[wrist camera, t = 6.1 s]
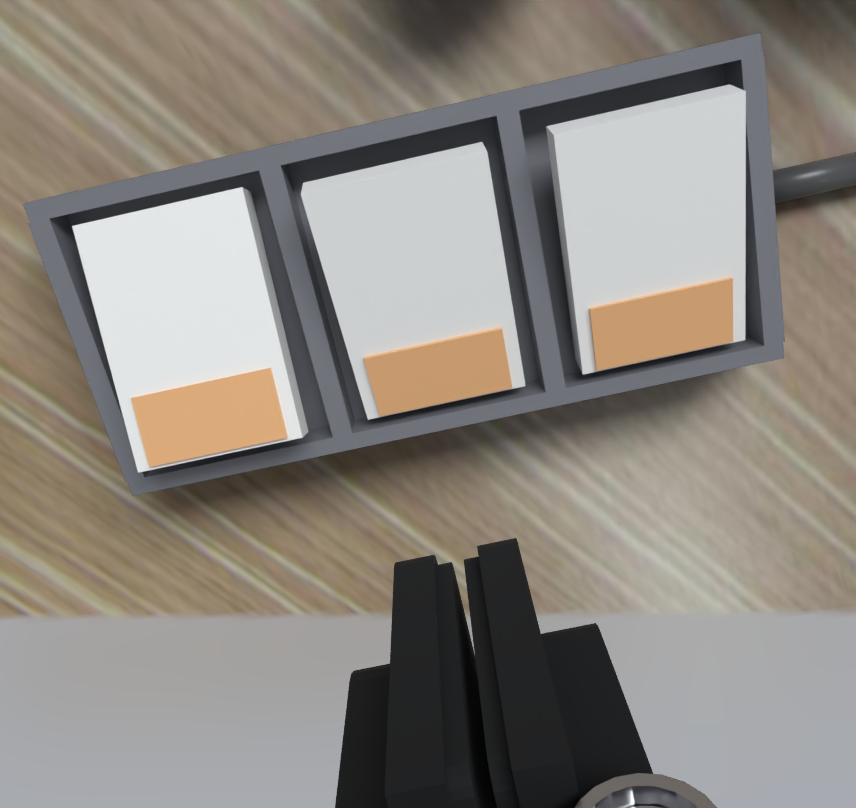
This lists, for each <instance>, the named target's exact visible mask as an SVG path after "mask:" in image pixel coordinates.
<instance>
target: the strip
mask: <svg viewBox="0 0 856 808" xmlns="http://www.w3.org/2000/svg"><path fill="white" fill-rule="evenodd" d="M729 84H730V85H733V86H735V87H737V88H740V89H742V90H744V91H746V274H745V340H743V341H739V342H734V343H729V344H725V345H720V346H715V347H710V348H706V349H701V350H696V351H692V352H687V353H682V354H678V355H673V356H668V357H664V358H659V359H654V360H649V361H645V362H640V363H635V364H631V365H626V366H621V367H617V368H612V369H607V370H603V371H598V372H593V373H589V374H584V375H583V374H582V372H581V370H580V368H579V366H578V364H577V362H576V360H575V354H574V346H573V338H572V330H571V322H570V314H569V306H568V298H567V290H566V282H565V274H564V266H563V258H562V250H561V242H560V234H559V226H558V218H557V210H556V202H555V194H554V187H553V179H552V171H551V163H550V155H549V147H548V139H547V131H546V126H550V125H554V124H559V123H563V122H568V121H572V120H576V119H581V118H585V117H589V116H594V115H598V114H603V113H607V112H611V111H616V110H620V109H624V108H629V107H633V106H637V105H642V104H646V103H651V102H655V101H659V100H664V99H668V98H672V97H677V96H681V95H686V94H690V93H694V92H699V91H703V90H707V89H712V88H716V87H720V86H725V85H729ZM479 142H482V143H483V144H484V146H485V148H486V150H487V153H488V159H489V165H490V171H491V178H492V184H493V190H494V196H495V202H496V208H497V214H498V220H499V226H500V233H501V239H502V245H503V251H504V257H505V263H506V269H507V275H508V281H509V288H510V294H511V300H512V306H513V312H514V318H515V324H516V330H517V336H518V343H519V349H520V355H521V361H522V367H523V373H524V379H525V385H526V386H524V387H519V388H515V389H510V390H505V391H500V392H496V393H491V394H486V395H482V396H477V397H472V398H468V399H463V400H458V401H454V402H449V403H444V404H440V405H435V406H430V407H425V408H421V409H416V410H411V411H407V412H402V413H397V414H393V415H388V416H383V417H379V418H374V419H369V420H368V419H367V415H366V412H365V409H364V405H363V402H362V399H361V395H360V392H359V389H358V385H357V382H356V378H355V375H354V372H353V368H352V365H351V362H350V358H349V355H348V352H347V348H346V345H345V342H344V338H343V335H342V331H341V328H340V325H339V321H338V318H337V315H336V311H335V308H334V305H333V301H332V298H331V295H330V291H329V288H328V285H327V281H326V278H325V274H324V271H323V268H322V264H321V261H320V258H319V254H318V251H317V248H316V244H315V241H314V238H313V234H312V231H311V227H310V224H309V221H308V217H307V214H306V211H305V207H304V204H303V201H302V197H301V191H302V186H303V183H304V182H309V181H313V180H318V179H322V178H326V177H331V176H335V175H339V174H344V173H348V172H353V171H357V170H361V169H366V168H370V167H374V166H379V165H383V164H387V163H392V162H396V161H401V160H405V159H409V158H414V157H418V156H422V155H427V154H431V153H436V152H440V151H444V150H449V149H453V148H457V147H462V146H466V145H470V144H475V143H479ZM852 186H856V152H855V153H850V154H846V155H841V156H837V157H832V158H828V159H823V160H819V161H814V162H810V163H805V164H801V165H796V166H792V167H787V168H783V169H778V170H774V171H773V169H772V155H771V141H770V127H769V113H768V99H767V85H766V71H765V57H764V54H762V42H761V33H757V34H752V35H748V36H744V37H739V38H735V39H731V40H726V41H722V42H718V43H713V44H709V45H705V46H700V47H696V48H692V49H688V50H683V51H679V52H675V53H670V54H666V55H662V56H657V57H653V58H649V59H644V60H640V61H636V62H631V63H627V64H623V65H618V66H614V67H610V68H605V69H601V70H597V71H593V72H588V73H584V74H580V75H575V76H571V77H567V78H562V79H558V80H554V81H549V82H545V83H541V84H536V85H532V86H528V87H523V88H519V89H515V90H510V91H506V92H502V93H498V94H493V95H489V96H485V97H480V98H476V99H472V100H467V101H463V102H459V103H454V104H450V105H446V106H441V107H437V108H433V109H428V110H424V111H420V112H415V113H411V114H407V115H403V116H398V117H394V118H390V119H385V120H381V121H377V122H372V123H368V124H364V125H359V126H355V127H351V128H346V129H342V130H338V131H333V132H329V133H325V134H321V135H316V136H312V137H308V138H303V139H299V140H295V141H290V142H286V143H282V144H277V145H273V146H269V147H264V148H260V149H256V150H251V151H247V152H243V153H238V154H234V155H230V156H226V157H221V158H217V159H213V160H208V161H204V162H200V163H195V164H191V165H187V166H182V167H178V168H174V169H169V170H165V171H161V172H156V173H152V174H148V175H143V176H139V177H135V178H131V179H126V180H122V181H118V182H113V183H109V184H105V185H100V186H96V187H92V188H87V189H83V190H79V191H74V192H70V193H66V194H61V195H57V196H53V197H48V198H44V199H40V200H36V201H31V202H27V203H25V204H24V205H23V206H24V208H25V211H26V214H27V216H28V219H29V222H30V223H28V224H29V227H30V229H31V232H32V235H33V237H34V240H35V243H36V245H37V248H38V251H39V253H40V256H41V259H42V261H43V264H44V267H45V269H46V272H47V275H48V277H49V280H50V282H51V285H52V288H53V290H54V293H55V296H56V298H57V301H58V304H59V306H60V309H61V312H62V314H63V317H64V320H65V322H66V325H67V328H68V330H69V333H70V335H71V338H72V341H73V343H74V346H75V349H76V351H77V354H78V357H79V359H80V362H81V365H82V367H83V370H84V373H85V375H86V378H87V381H88V383H89V386H90V388H91V391H92V394H93V396H94V399H95V402H96V404H97V407H98V410H99V412H100V415H101V418H102V420H103V423H104V426H105V428H106V431H107V434H108V436H109V439H110V442H111V444H112V447H113V449H114V452H115V455H116V457H117V460H118V463H119V465H120V468H121V471H122V473H123V476H124V479H125V481H126V482H128V485H129V487H130V490H131V493H132V495H133V496H135V495H139V494H144V493H149V492H154V491H158V490H163V489H168V488H172V487H177V486H182V485H187V484H191V483H196V482H201V481H206V480H210V479H215V478H220V477H224V476H229V475H234V474H239V473H243V472H248V471H253V470H258V469H262V468H267V467H272V466H276V465H281V464H286V463H291V462H295V461H300V460H305V459H309V458H314V457H319V456H324V455H328V454H333V453H338V452H343V451H347V450H352V449H357V448H361V447H366V446H371V445H376V444H380V443H385V442H390V441H395V440H399V439H404V438H409V437H413V436H418V435H423V434H428V433H432V432H437V431H442V430H446V429H451V428H456V427H461V426H465V425H470V424H475V423H480V422H484V421H489V420H494V419H498V418H503V417H508V416H513V415H517V414H522V413H527V412H532V411H536V410H541V409H546V408H550V407H555V406H560V405H565V404H569V403H574V402H579V401H584V400H588V399H593V398H598V397H602V396H607V395H612V394H617V393H621V392H626V391H631V390H635V389H640V388H645V387H650V386H654V385H659V384H664V383H669V382H673V381H678V380H683V379H687V378H692V377H697V376H702V375H706V374H711V373H716V372H721V371H725V370H730V369H735V368H739V367H744V366H749V365H754V364H758V363H763V362H768V361H773V360H777V359H782V358H784V348H783V342H785V338H784V324H783V310H782V296H781V282H780V268H779V254H778V240H777V226H776V211H775V203H779V202H784V201H788V200H793V199H797V198H802V197H806V196H811V195H815V194H820V193H824V192H829V191H833V190H838V189H842V188H847V187H852ZM240 187H243V188H245V189H247V190H248V191H250V192H251V193H252V197H253V202H254V206H255V210H256V214H257V218H258V223H259V227H260V231H261V235H262V239H263V243H264V248H265V252H266V256H267V260H268V264H269V268H270V273H271V277H272V281H273V285H274V289H275V294H276V298H277V302H278V306H279V310H280V314H281V319H282V323H283V327H284V331H285V335H286V340H287V344H288V348H289V352H290V356H291V360H292V365H293V369H294V373H295V377H296V381H297V385H298V390H299V394H300V398H301V402H302V406H303V411H304V415H305V419H306V423H307V427H308V431H309V432H308V433H307V434H306V435H305V436H304V437H303V438H298V439H294V440H289V441H284V442H280V443H275V444H270V445H266V446H261V447H256V448H251V449H247V450H242V451H237V452H233V453H228V454H223V455H219V456H214V457H209V458H204V459H200V460H195V461H190V462H186V463H181V464H176V465H172V466H167V467H162V468H158V469H153V470H148V471H143V472H139V473H138V471H137V467H136V463H135V459H134V456H133V452H132V448H131V444H130V441H129V437H128V433H127V429H126V426H125V422H124V418H123V415H122V411H121V407H120V403H119V400H118V396H117V392H116V388H115V385H114V381H113V377H112V373H111V370H110V366H109V362H108V359H107V355H106V351H105V347H104V344H103V340H102V336H101V332H100V329H99V325H98V321H97V317H96V314H95V310H94V306H93V303H92V299H91V295H90V291H89V288H88V284H87V280H86V276H85V273H84V269H83V265H82V261H81V258H80V254H79V250H78V247H77V243H76V239H75V235H74V232H73V228H72V226H75V225H79V224H83V223H88V222H92V221H96V220H101V219H105V218H109V217H114V216H118V215H122V214H127V213H131V212H136V211H140V210H144V209H149V208H153V207H157V206H162V205H166V204H170V203H175V202H179V201H184V200H188V199H192V198H197V197H201V196H205V195H210V194H214V193H218V192H223V191H227V190H231V189H236V188H240Z"/></svg>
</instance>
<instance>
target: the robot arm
mask: <svg viewBox="0 0 856 808" xmlns="http://www.w3.org/2000/svg"><path fill="white" fill-rule="evenodd" d="M477 548H478V555H479V557H475V558H470V559H465V560H464V566H465V574H466V583H467V591H468V600H469V608H470V617H471V625H472V633H473V642H474V650H475V655H474V651H473V647H472V642H471V639H470V634H469V630H468V626H467V621H466V617H465V613H464V609H463V605H462V601H461V596H460V592H459V588H458V584H457V580H456V575H455V571H454V568H453V564H452V562H450V563H445V564H440V565H438V563H437V560H436V557H435V555H431V556H426V557H421V558H416V559H411V560H406V561H401V562H396V563H395V565H394V584H393V608H392V631H391V655H390V664H386V665H381V666H376V667H371V668H366V669H361V670H356V671H353V673H352V674H351V678H350V683H349V691H348V700H347V709H346V718H345V726H344V735H343V745H342V753H341V761H340V771H339V780H338V788H337V796H336V805H335V808H717V807H716V806H715V805H714V804H713V803H712V802H711V801H710V800H709V798H708V797H707V796H706V795H705V794H703V793H702V792H700V791H698V790H697V789H695V788H694V787H692V786H690V785H689V784H687V783H686V782H683V781H680V780H677V779H674V778H671V777H667V776H664V775H659V774H653V772H652V769H651V767H650V764H649V761H648V758H647V756H646V753H645V750H644V748H643V745H642V742H641V740H640V737H639V735H638V732H637V729H636V727H635V724H634V721H633V719H632V716H631V713H630V710H629V708H628V705H627V702H626V699H625V697H624V694H623V692H622V689H621V686H620V683H619V681H618V678H617V675H616V673H615V670H614V667H613V665H612V662H611V659H610V657H609V654H608V651H607V648H606V646H605V643H604V640H603V638H602V635H601V632H600V630H599V628H598V626H597V625H596V623H594V624H590V625H584V626H579V627H574V628H569V629H564V630H559V631H554V632H549V633H544V634H540V629H539V625H538V621H537V617H536V613H535V610H534V606H533V602H532V598H531V594H530V590H529V586H528V582H527V578H526V574H525V570H524V566H523V562H522V558H521V554H520V550H519V546H518V542H517V539H516V538H514V539H509V540H504V541H499V542H495V543H490V544H485V545H480V546H477Z"/></svg>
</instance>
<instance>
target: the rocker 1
mask: <svg viewBox="0 0 856 808" xmlns="http://www.w3.org/2000/svg"><path fill="white" fill-rule="evenodd" d="M72 228H73V232H74V235H75V239H76V243H77V247H78V250H79V254H80V258H81V261H82V265H83V269H84V273H85V276H86V280H87V284H88V288H89V291H90V295H91V299H92V303H93V306H94V310H95V314H96V317H97V321H98V325H99V329H100V332H101V336H102V340H103V344H104V347H105V351H106V355H107V359H108V362H109V366H110V370H111V373H112V377H113V381H114V385H115V388H116V392H117V396H118V400H119V403H120V407H121V411H122V415H123V418H124V422H125V426H126V429H127V433H128V437H129V441H130V444H131V448H132V452H133V456H134V459H135V463H136V467H137V471H138V473H139V472H143V471H148V470H153V469H158V468H162V467H167V466H172V465H176V464H181V463H186V462H190V461H195V460H200V459H204V458H209V457H214V456H219V455H223V454H228V453H233V452H237V451H242V450H247V449H251V448H256V447H261V446H266V445H270V444H275V443H280V442H284V441H289V440H294V439H298V438H303V437H304V436H305V435H306V434H307V433H308V432H309V431H308V427H307V423H306V419H305V415H304V411H303V406H302V402H301V398H300V394H299V390H298V385H297V381H296V377H295V373H294V369H293V365H292V360H291V356H290V352H289V348H288V344H287V340H286V335H285V331H284V327H283V323H282V319H281V314H280V310H279V306H278V302H277V298H276V294H275V289H274V285H273V281H272V277H271V273H270V268H269V264H268V260H267V256H266V252H265V248H264V243H263V239H262V235H261V231H260V227H259V223H258V218H257V214H256V210H255V206H254V202H253V197H252V193H251V192H250V191H248V190H247V189H245V188H243V187H240V188H236V189H231V190H227V191H223V192H218V193H214V194H210V195H205V196H201V197H197V198H192V199H188V200H184V201H179V202H175V203H170V204H166V205H162V206H157V207H153V208H149V209H144V210H140V211H136V212H131V213H127V214H122V215H118V216H114V217H109V218H105V219H101V220H96V221H92V222H88V223H83V224H79V225H75V226H72Z"/></svg>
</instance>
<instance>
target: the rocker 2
mask: <svg viewBox="0 0 856 808" xmlns="http://www.w3.org/2000/svg"><path fill="white" fill-rule="evenodd" d="M546 131H547V139H548V147H549V155H550V163H551V171H552V179H553V187H554V194H555V202H556V210H557V218H558V226H559V234H560V242H561V250H562V258H563V266H564V274H565V282H566V290H567V298H568V306H569V314H570V322H571V330H572V338H573V346H574V354H575V360H576V362H577V364H578V366H579V368H580V370H581V372H582V374H583V375H584V374H589V373H593V372H598V371H603V370H607V369H612V368H617V367H621V366H626V365H631V364H635V363H640V362H645V361H649V360H654V359H659V358H664V357H668V356H673V355H678V354H682V353H687V352H692V351H696V350H701V349H706V348H710V347H715V346H720V345H725V344H729V343H734V342H739V341H743V340H745V274H746V91H744V90H742V89H740V88H737V87H735V86H733V85H730V84H729V85H725V86H720V87H716V88H712V89H707V90H703V91H699V92H694V93H690V94H686V95H681V96H677V97H672V98H668V99H664V100H659V101H655V102H651V103H646V104H642V105H637V106H633V107H629V108H624V109H620V110H616V111H611V112H607V113H603V114H598V115H594V116H589V117H585V118H581V119H576V120H572V121H568V122H563V123H559V124H554V125H550V126H546Z"/></svg>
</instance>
